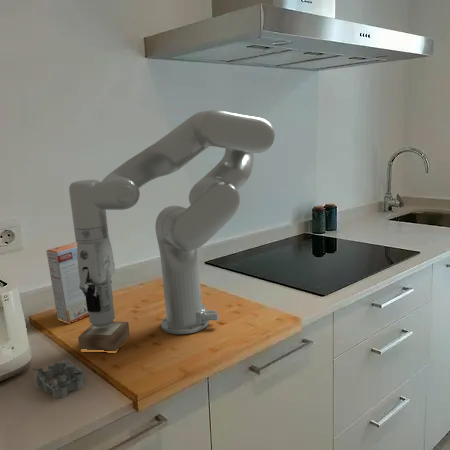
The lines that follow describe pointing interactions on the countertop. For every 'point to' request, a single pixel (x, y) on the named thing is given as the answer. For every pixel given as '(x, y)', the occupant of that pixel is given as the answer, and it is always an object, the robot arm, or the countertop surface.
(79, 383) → the egg carton
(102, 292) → the energy drink can
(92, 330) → the rectangular tray
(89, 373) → the countertop surface
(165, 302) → the robot arm
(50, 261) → the cracker box
